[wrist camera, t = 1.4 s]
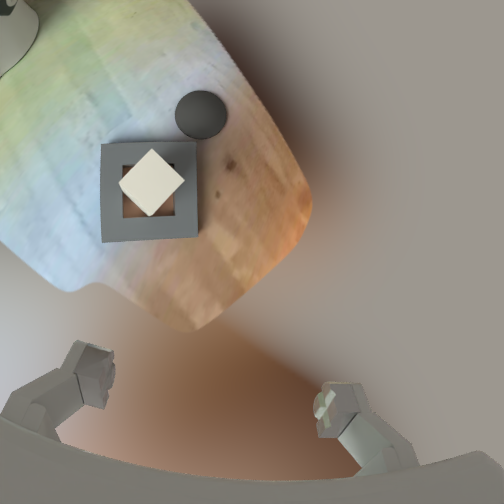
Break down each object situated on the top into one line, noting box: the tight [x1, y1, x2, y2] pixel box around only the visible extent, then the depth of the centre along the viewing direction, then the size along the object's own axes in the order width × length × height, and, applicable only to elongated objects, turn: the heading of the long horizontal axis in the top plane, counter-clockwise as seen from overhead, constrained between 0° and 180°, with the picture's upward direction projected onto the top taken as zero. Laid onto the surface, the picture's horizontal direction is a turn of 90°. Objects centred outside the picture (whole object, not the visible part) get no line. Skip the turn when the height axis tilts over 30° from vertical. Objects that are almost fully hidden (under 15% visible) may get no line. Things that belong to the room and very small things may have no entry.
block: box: [119, 149, 185, 217], centre depth 34 cm, size 4×4×11 cm
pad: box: [175, 91, 226, 139], centre depth 40 cm, size 7×7×1 cm
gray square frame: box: [100, 142, 198, 243], centre depth 38 cm, size 12×12×2 cm
